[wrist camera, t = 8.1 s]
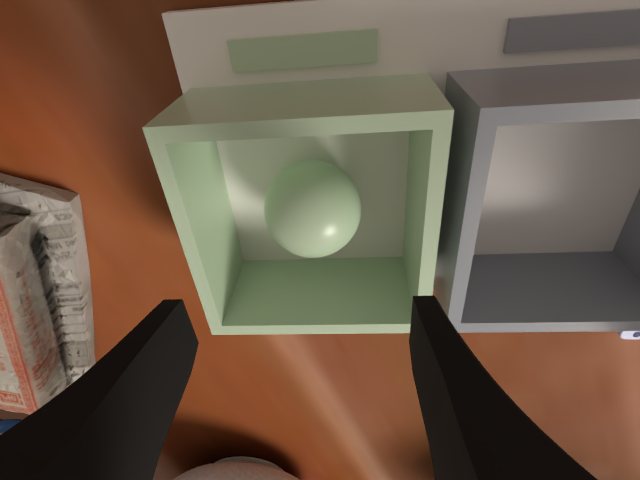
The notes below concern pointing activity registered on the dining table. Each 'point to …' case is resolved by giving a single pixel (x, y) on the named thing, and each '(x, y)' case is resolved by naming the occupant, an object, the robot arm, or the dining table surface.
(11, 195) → the packaged product
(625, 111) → the two-tone hollow container
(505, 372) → the dining table surface
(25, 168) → the dining table surface
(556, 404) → the dining table surface
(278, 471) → the cereal bowl
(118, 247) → the dining table surface
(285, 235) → the ball
